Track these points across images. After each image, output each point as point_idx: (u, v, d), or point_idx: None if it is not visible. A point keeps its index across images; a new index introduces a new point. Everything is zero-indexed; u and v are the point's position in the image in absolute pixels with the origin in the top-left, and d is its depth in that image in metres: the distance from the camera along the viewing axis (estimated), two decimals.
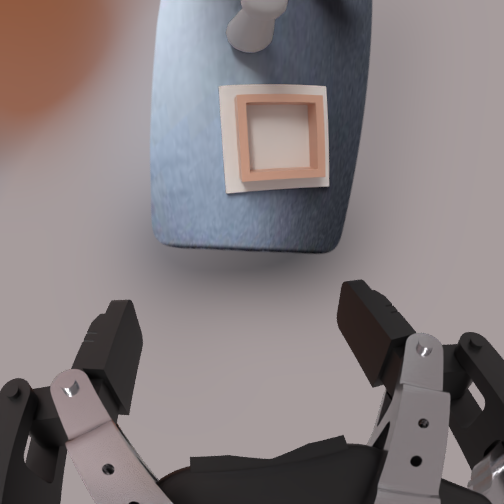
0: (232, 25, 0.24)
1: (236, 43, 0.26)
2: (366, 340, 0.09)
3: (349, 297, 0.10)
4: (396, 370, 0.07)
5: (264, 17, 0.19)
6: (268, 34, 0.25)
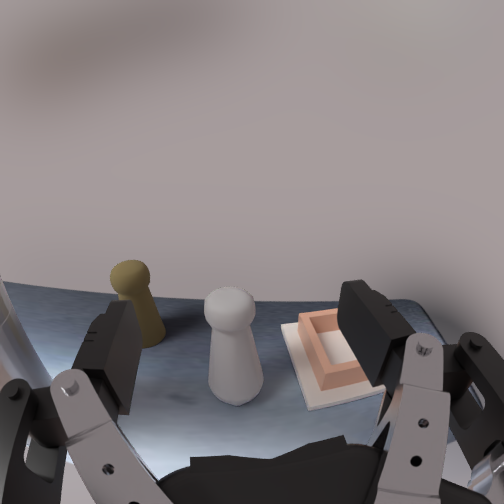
0: (237, 378, 0.24)
1: (257, 381, 0.26)
2: (366, 340, 0.09)
3: (349, 297, 0.10)
4: (396, 370, 0.07)
5: (254, 305, 0.24)
6: None
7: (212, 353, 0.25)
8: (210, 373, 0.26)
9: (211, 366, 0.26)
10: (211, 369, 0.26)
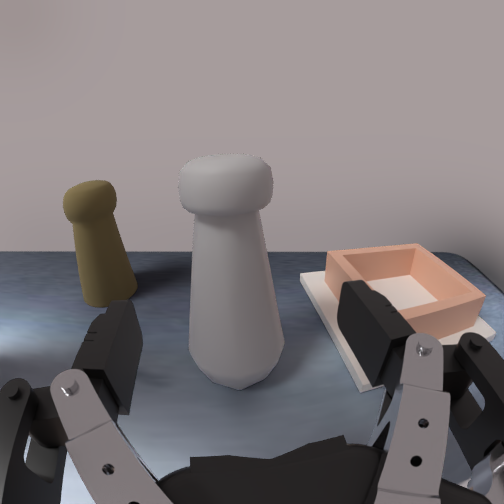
0: (240, 329, 0.13)
1: (275, 340, 0.15)
2: (366, 340, 0.09)
3: (349, 297, 0.10)
4: (396, 370, 0.07)
5: (271, 177, 0.13)
6: None
7: (193, 281, 0.14)
8: (190, 326, 0.15)
9: (192, 310, 0.15)
10: (192, 316, 0.15)
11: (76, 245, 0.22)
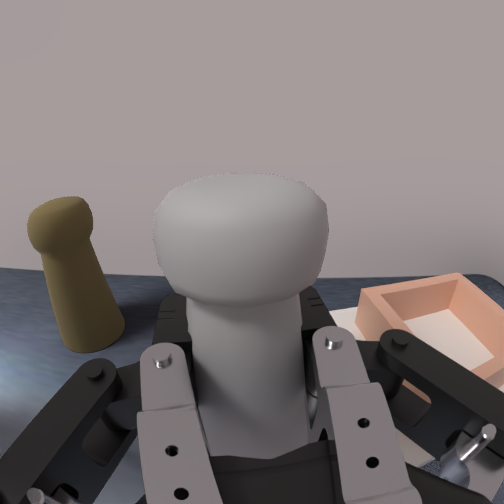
0: (262, 445, 0.08)
1: None
2: None
3: None
4: (308, 363, 0.08)
5: None
6: None
7: None
8: None
9: None
10: None
11: (46, 279, 0.17)
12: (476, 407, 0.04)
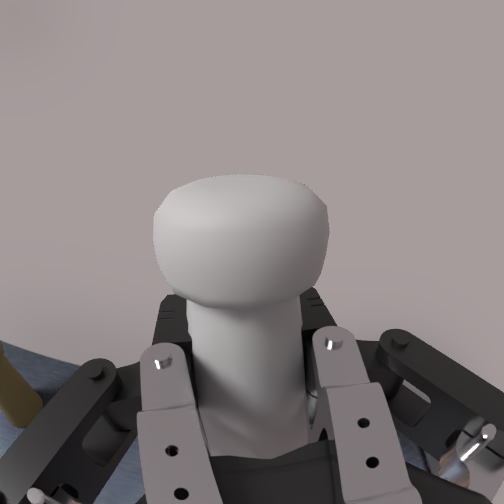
0: (262, 446, 0.08)
1: None
2: None
3: None
4: (308, 363, 0.08)
5: None
6: None
7: None
8: None
9: None
10: None
11: None
12: (476, 407, 0.04)
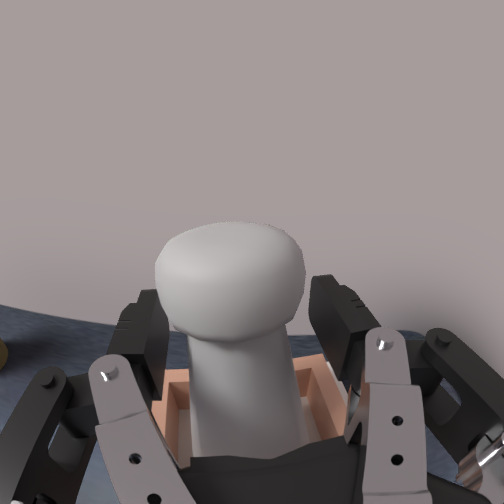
0: (257, 456, 0.09)
1: None
2: (331, 334, 0.09)
3: (317, 291, 0.10)
4: (358, 364, 0.07)
5: None
6: None
7: (192, 399, 0.09)
8: (193, 438, 0.10)
9: (193, 426, 0.10)
10: (194, 432, 0.10)
11: None
12: (501, 412, 0.04)
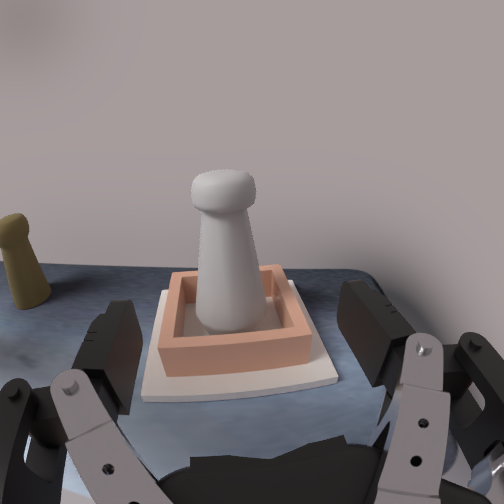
0: (232, 292, 0.20)
1: (259, 303, 0.21)
2: (366, 340, 0.09)
3: (349, 297, 0.10)
4: (396, 370, 0.07)
5: None
6: None
7: (200, 258, 0.20)
8: (197, 292, 0.21)
9: (199, 280, 0.21)
10: (199, 285, 0.21)
11: (4, 263, 0.24)
12: None
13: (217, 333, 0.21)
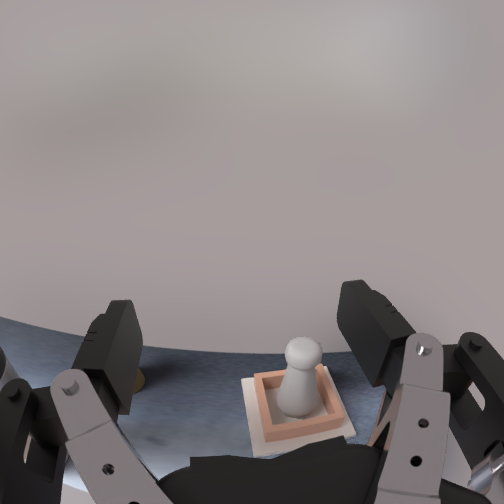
0: (304, 399, 0.32)
1: (316, 400, 0.33)
2: (366, 340, 0.09)
3: (349, 297, 0.10)
4: (397, 370, 0.07)
5: None
6: None
7: (286, 383, 0.33)
8: (281, 397, 0.34)
9: (284, 392, 0.33)
10: (283, 394, 0.33)
11: None
12: None
13: (292, 416, 0.33)
